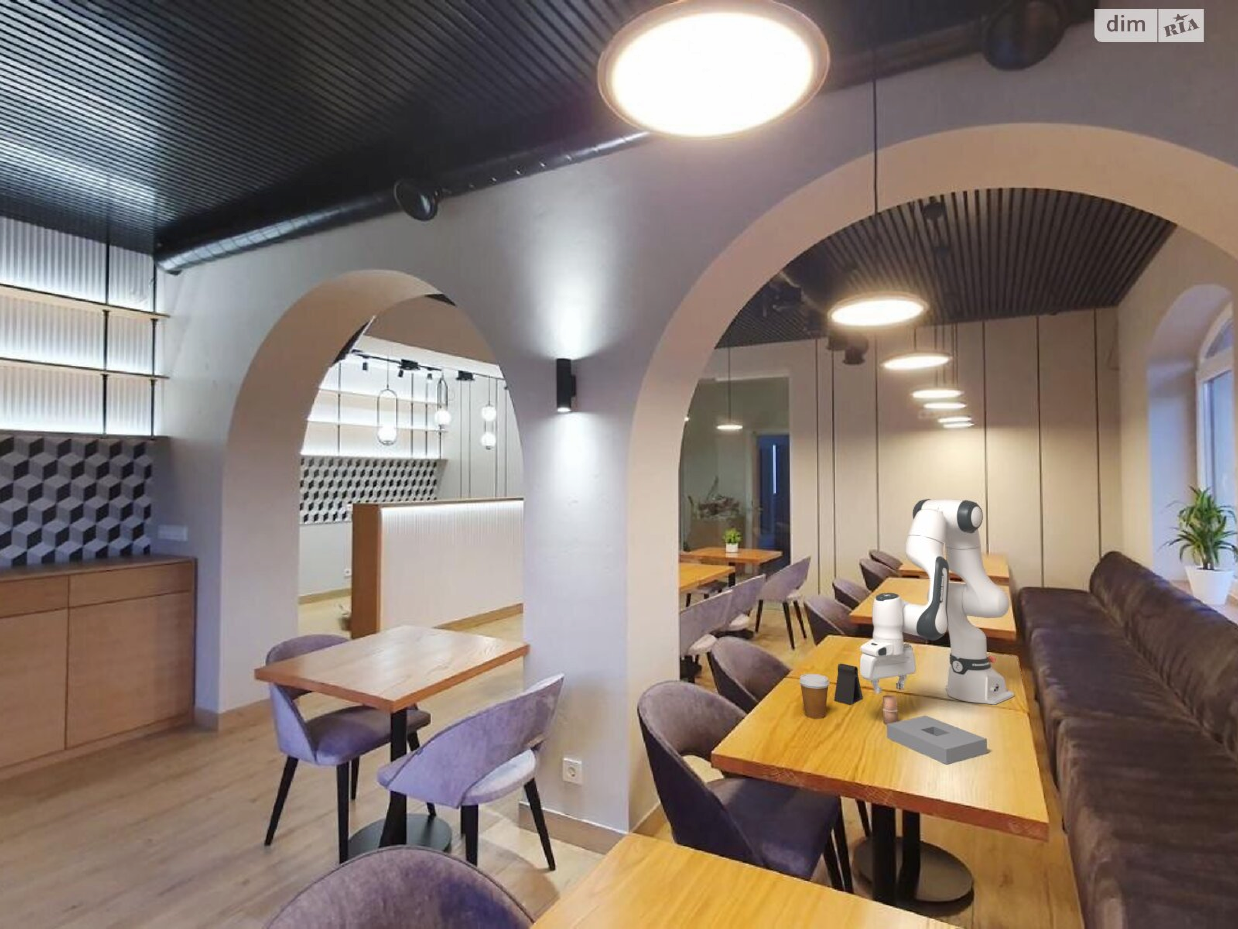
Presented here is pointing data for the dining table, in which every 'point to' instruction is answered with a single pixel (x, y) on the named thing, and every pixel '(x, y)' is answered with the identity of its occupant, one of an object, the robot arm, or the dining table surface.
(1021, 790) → the dining table surface
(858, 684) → the phone stand
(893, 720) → the terracotta peg
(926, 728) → the gray board
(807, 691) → the disposable coffee cup
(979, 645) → the robot arm
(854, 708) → the dining table surface
